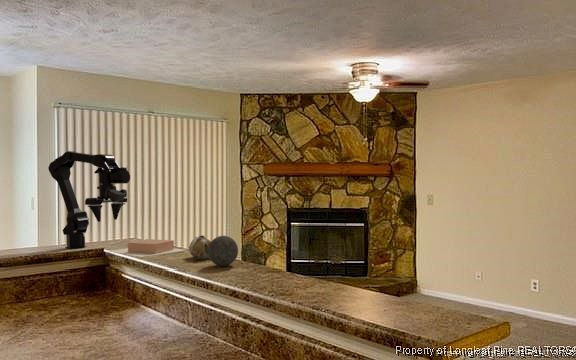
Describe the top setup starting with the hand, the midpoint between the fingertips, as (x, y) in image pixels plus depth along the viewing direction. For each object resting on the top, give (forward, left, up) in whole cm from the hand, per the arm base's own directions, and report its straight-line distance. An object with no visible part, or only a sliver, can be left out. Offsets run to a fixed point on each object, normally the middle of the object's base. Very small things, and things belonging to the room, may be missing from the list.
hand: (107, 220), depth 219 cm
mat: (+5, -22, -12) cm, 26 cm away
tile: (+4, -18, -9) cm, 21 cm away
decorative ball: (+4, -72, -12) cm, 73 cm away
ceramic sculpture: (+9, -53, -12) cm, 56 cm away
